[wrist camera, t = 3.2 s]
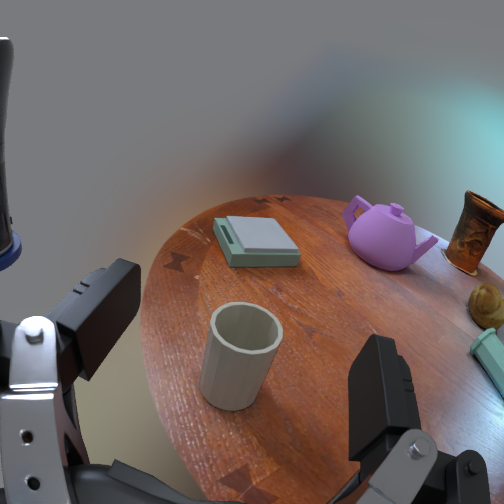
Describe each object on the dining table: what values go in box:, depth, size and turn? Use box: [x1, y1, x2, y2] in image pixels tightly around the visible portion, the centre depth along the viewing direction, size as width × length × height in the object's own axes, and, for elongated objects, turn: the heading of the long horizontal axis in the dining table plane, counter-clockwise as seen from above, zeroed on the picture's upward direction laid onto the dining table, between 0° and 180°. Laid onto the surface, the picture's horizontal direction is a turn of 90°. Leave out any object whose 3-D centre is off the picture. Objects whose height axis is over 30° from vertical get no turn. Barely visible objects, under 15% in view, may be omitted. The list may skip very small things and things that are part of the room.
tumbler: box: [199, 302, 283, 411], centre depth 27 cm, size 6×6×9 cm
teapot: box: [341, 196, 439, 271], centre depth 62 cm, size 22×16×12 cm
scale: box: [213, 216, 301, 267], centre depth 54 cm, size 12×12×3 cm
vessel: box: [441, 190, 504, 276], centre depth 69 cm, size 14×14×20 cm
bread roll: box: [469, 283, 504, 330], centre depth 50 cm, size 13×10×8 cm
